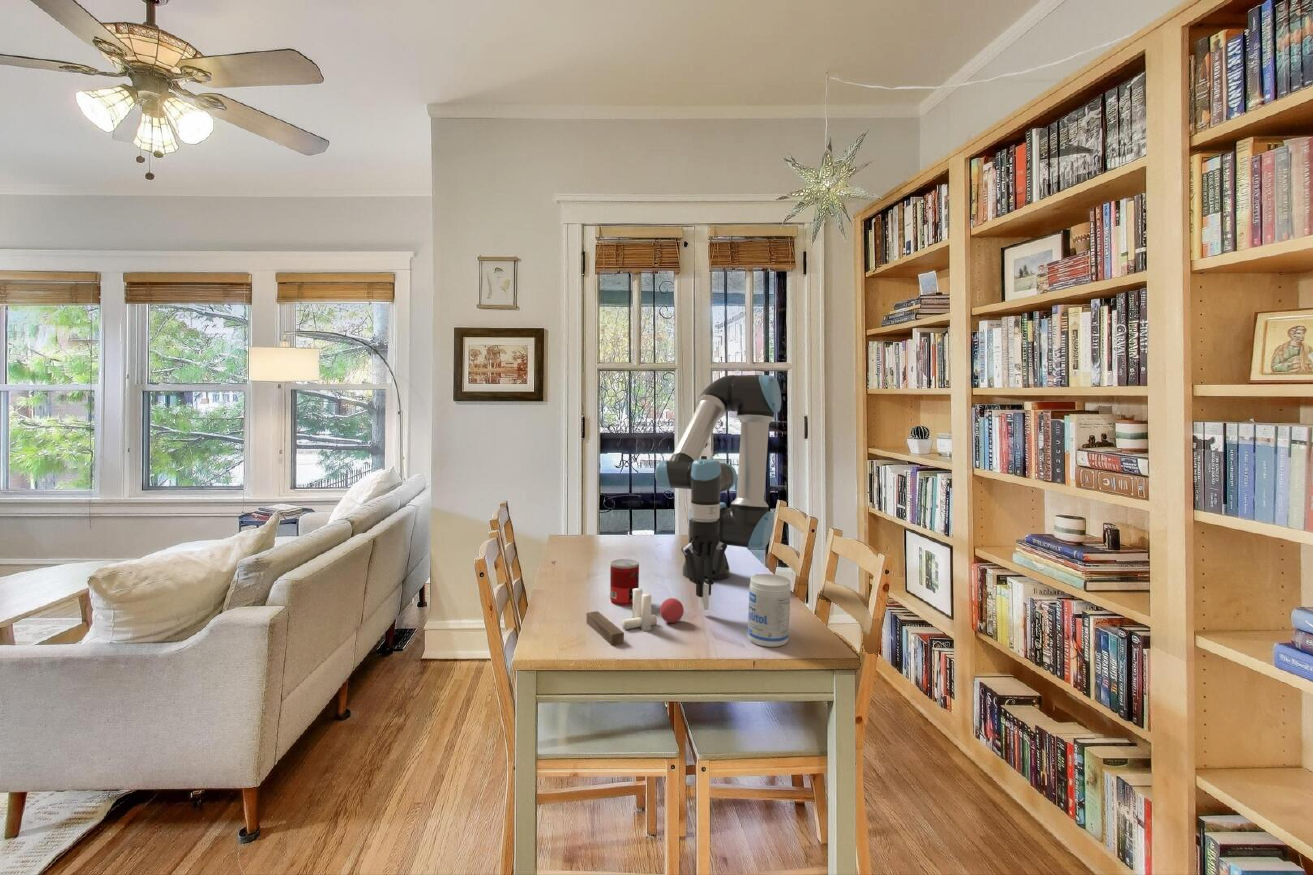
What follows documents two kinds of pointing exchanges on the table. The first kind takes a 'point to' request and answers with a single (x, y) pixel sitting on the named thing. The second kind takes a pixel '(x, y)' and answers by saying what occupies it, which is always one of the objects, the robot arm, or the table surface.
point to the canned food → (623, 581)
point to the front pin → (636, 622)
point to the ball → (671, 610)
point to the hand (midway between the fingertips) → (703, 608)
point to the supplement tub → (769, 610)
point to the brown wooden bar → (605, 628)
